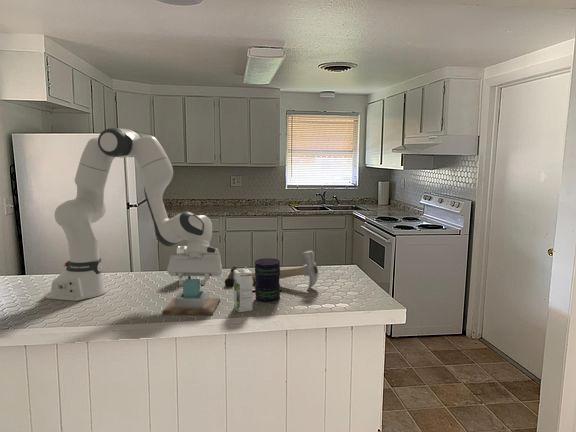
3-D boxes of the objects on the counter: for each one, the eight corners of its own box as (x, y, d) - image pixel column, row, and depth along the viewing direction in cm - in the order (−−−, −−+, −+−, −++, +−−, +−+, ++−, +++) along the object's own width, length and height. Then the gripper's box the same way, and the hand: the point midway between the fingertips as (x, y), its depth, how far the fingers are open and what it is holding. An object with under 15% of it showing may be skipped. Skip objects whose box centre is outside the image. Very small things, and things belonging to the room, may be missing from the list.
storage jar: (268, 292, 180) (268, 257, 177) (285, 298, 173) (285, 261, 170) (249, 298, 173) (249, 261, 170) (266, 304, 166) (266, 266, 163)
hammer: (247, 261, 192) (310, 252, 179) (252, 259, 196) (314, 249, 183) (255, 296, 193) (318, 289, 180) (260, 293, 197) (322, 286, 184)
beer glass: (191, 282, 194) (190, 249, 192) (175, 282, 194) (174, 249, 192) (195, 277, 201) (193, 245, 199) (179, 277, 201) (178, 245, 199)
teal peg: (183, 306, 160) (182, 283, 159) (187, 301, 165) (186, 278, 164) (197, 307, 160) (196, 283, 158) (200, 302, 165) (199, 279, 163)
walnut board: (162, 314, 156) (162, 311, 156) (174, 301, 170) (173, 298, 170) (212, 314, 155) (212, 311, 155) (220, 301, 169) (220, 298, 169)
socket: (175, 309, 158) (174, 298, 157) (182, 299, 168) (182, 289, 167) (202, 309, 157) (202, 298, 157) (208, 300, 167) (208, 289, 167)
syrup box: (233, 307, 163) (232, 269, 160) (248, 305, 165) (248, 268, 163) (237, 312, 157) (236, 273, 155) (253, 310, 159) (252, 271, 157)
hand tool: (234, 287, 187) (233, 277, 187) (224, 287, 188) (224, 276, 187) (241, 275, 206) (241, 265, 206) (232, 275, 206) (232, 265, 206)
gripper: (168, 248, 168) (161, 281, 160) (222, 249, 167) (217, 281, 159) (172, 257, 173) (166, 289, 165) (224, 257, 172) (220, 289, 164)
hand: (191, 285), depth 162 cm, fingers open, 6 cm apart
